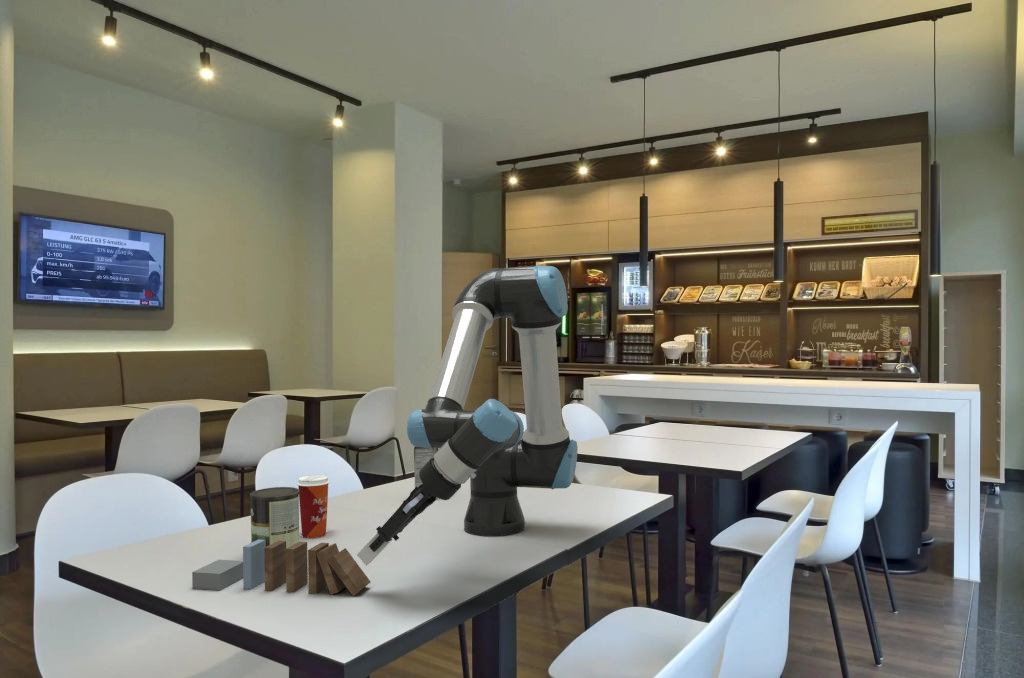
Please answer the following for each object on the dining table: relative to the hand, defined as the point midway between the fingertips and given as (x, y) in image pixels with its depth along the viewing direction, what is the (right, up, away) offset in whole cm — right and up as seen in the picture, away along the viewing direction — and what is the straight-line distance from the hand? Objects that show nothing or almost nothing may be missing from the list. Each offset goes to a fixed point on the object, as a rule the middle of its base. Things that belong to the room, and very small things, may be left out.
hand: (363, 559), depth 129 cm
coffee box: (+2, -7, +81) cm, 82 cm away
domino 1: (-22, -7, +5) cm, 23 cm away
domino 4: (-9, -6, +2) cm, 11 cm away
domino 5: (-4, -6, +1) cm, 7 cm away
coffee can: (-24, -7, +24) cm, 35 cm away
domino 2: (-18, -6, +4) cm, 19 cm away
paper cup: (-21, -7, +40) cm, 46 cm away
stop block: (-29, -7, +7) cm, 31 cm away
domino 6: (0, -6, 0) cm, 6 cm away
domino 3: (-13, -6, +3) cm, 15 cm away
